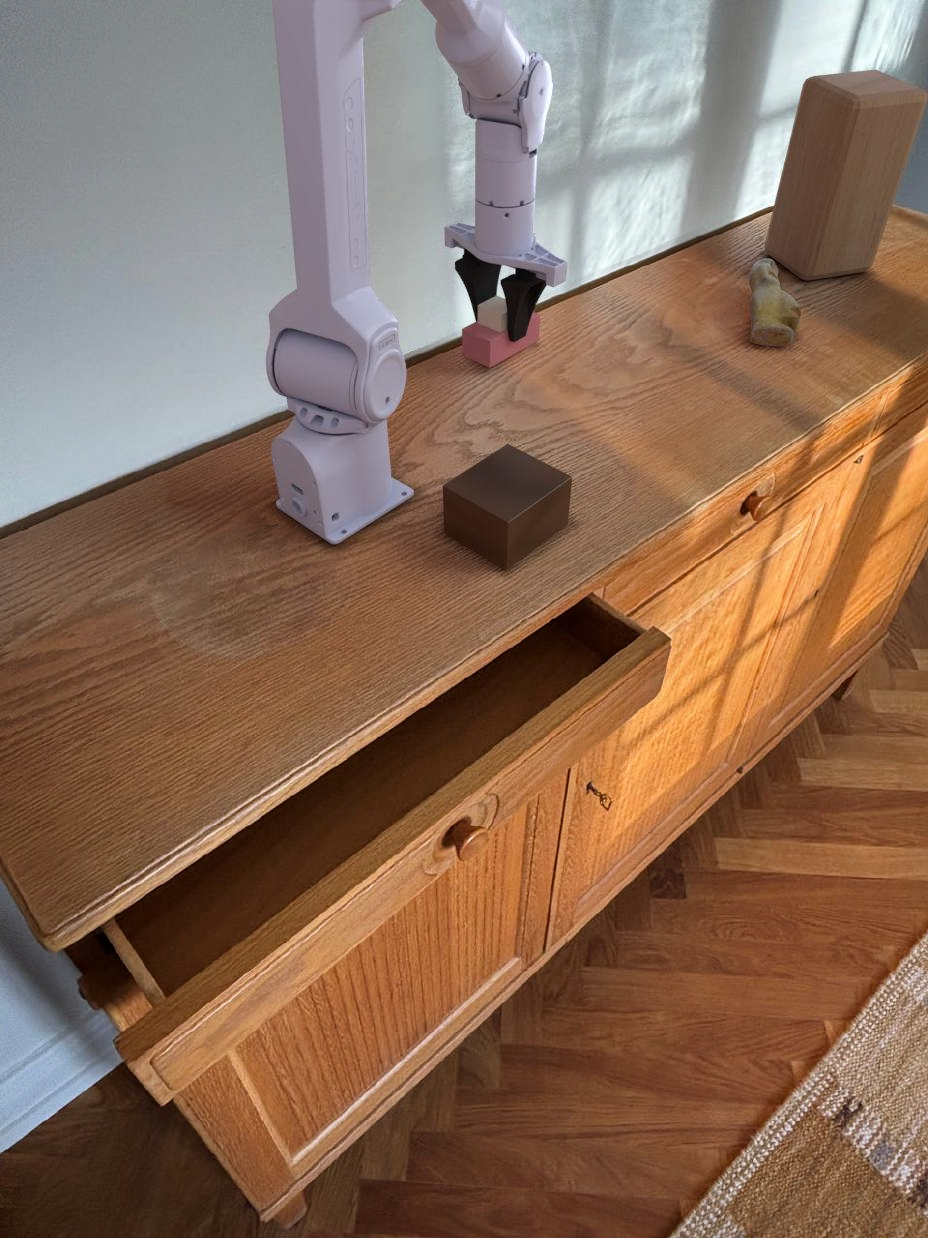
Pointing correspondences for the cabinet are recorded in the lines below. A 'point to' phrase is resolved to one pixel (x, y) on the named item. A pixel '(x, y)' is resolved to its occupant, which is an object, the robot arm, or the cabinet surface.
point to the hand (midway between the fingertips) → (501, 331)
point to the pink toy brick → (495, 334)
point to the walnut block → (506, 505)
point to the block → (842, 171)
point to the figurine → (771, 307)
